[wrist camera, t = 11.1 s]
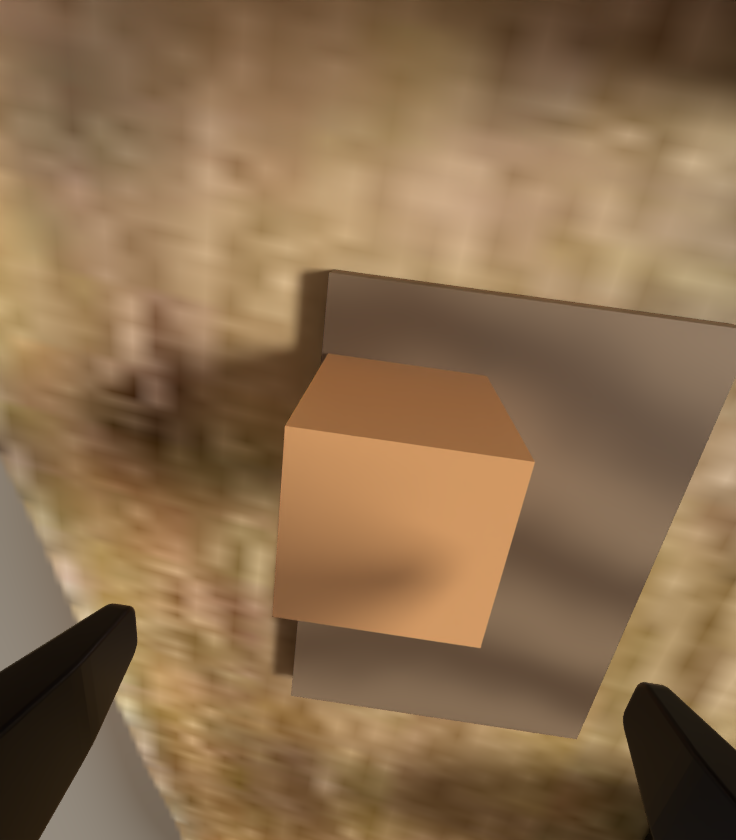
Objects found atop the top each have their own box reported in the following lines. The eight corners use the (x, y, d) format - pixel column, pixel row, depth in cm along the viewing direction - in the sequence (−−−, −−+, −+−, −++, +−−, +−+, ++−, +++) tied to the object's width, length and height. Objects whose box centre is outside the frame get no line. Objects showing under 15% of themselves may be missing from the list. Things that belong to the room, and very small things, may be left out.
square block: (455, 511, 19) (480, 647, 13) (314, 490, 19) (272, 616, 13) (486, 375, 17) (535, 462, 11) (328, 353, 17) (284, 425, 11)
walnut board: (568, 715, 24) (576, 739, 23) (296, 674, 24) (291, 695, 23) (731, 323, 17) (755, 330, 15) (333, 269, 17) (329, 272, 16)
